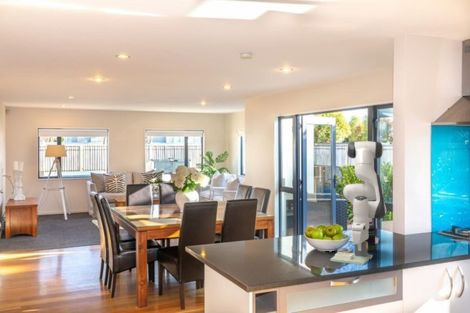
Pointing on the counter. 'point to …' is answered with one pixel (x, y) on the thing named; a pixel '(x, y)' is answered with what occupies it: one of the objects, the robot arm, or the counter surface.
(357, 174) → the robot arm
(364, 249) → the plug
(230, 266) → the counter surface
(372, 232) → the storage jar
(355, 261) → the board
